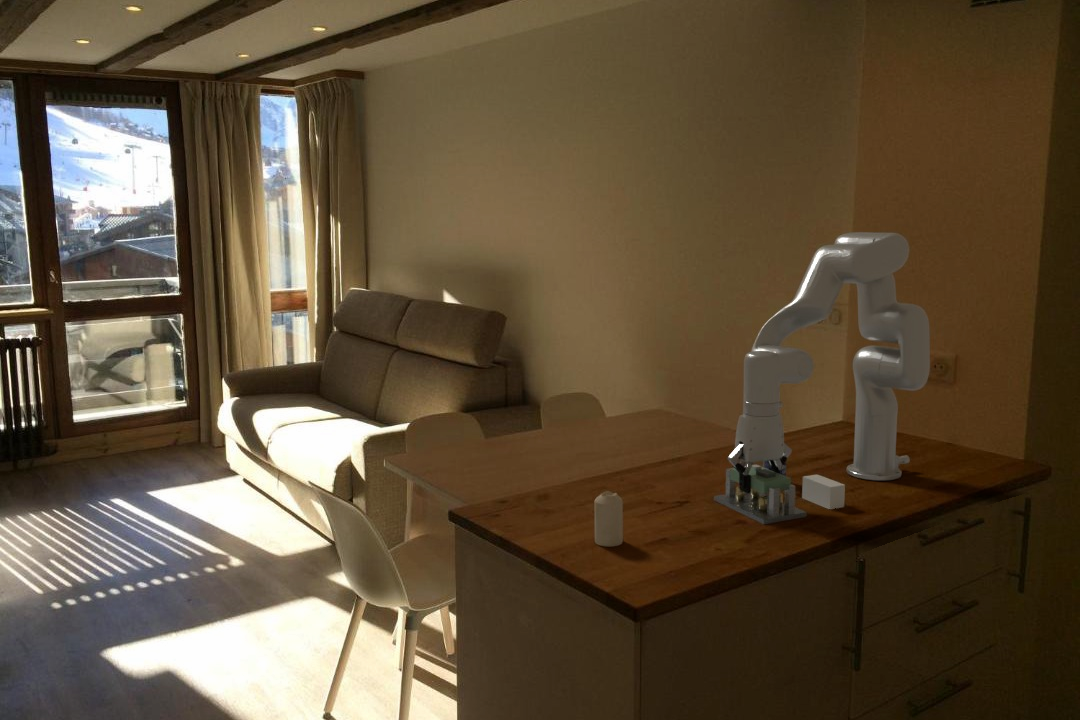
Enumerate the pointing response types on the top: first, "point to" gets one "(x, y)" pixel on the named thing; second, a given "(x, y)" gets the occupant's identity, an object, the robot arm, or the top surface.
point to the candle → (608, 519)
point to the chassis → (761, 503)
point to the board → (762, 479)
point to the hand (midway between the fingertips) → (759, 488)
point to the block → (823, 491)
